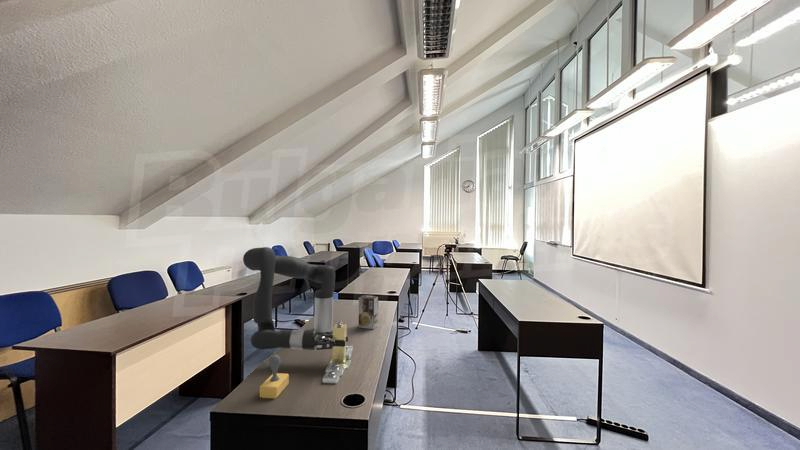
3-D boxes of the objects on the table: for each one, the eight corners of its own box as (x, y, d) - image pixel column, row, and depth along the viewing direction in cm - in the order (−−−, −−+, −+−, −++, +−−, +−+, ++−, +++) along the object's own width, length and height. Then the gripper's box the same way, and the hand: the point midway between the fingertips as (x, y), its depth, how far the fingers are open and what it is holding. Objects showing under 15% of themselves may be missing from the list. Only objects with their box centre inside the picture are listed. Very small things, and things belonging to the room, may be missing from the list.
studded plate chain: (338, 348, 153) (338, 342, 153) (356, 349, 153) (356, 343, 153) (318, 382, 122) (318, 374, 122) (340, 383, 121) (341, 375, 121)
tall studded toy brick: (334, 358, 140) (335, 321, 139) (346, 359, 139) (346, 321, 139) (332, 363, 135) (333, 324, 135) (343, 363, 135) (344, 324, 135)
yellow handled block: (272, 383, 121) (273, 349, 121) (289, 384, 121) (289, 349, 120) (259, 397, 111) (259, 360, 111) (276, 398, 111) (277, 361, 111)
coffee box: (378, 326, 187) (379, 296, 186) (373, 329, 180) (374, 298, 180) (363, 324, 190) (363, 294, 189) (357, 327, 183) (358, 297, 183)
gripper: (298, 336, 130) (343, 338, 130) (309, 324, 145) (350, 326, 144) (297, 356, 131) (342, 358, 130) (309, 342, 145) (349, 344, 144)
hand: (346, 341), depth 137 cm, fingers closed on tall studded toy brick, 4 cm apart
